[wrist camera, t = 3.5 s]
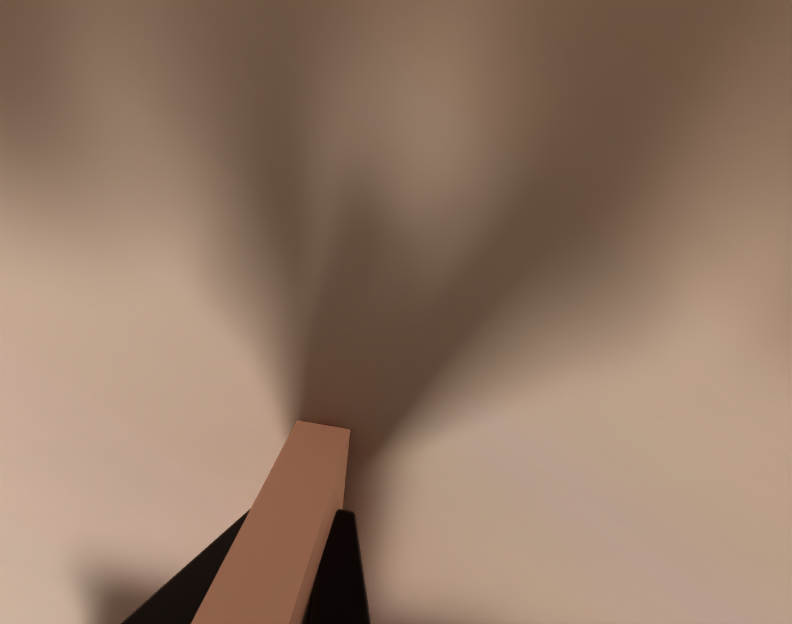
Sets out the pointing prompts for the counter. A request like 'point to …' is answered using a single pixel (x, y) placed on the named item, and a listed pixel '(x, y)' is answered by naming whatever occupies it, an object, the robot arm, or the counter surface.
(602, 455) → the counter surface
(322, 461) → the peach rectangular bar
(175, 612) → the robot arm
